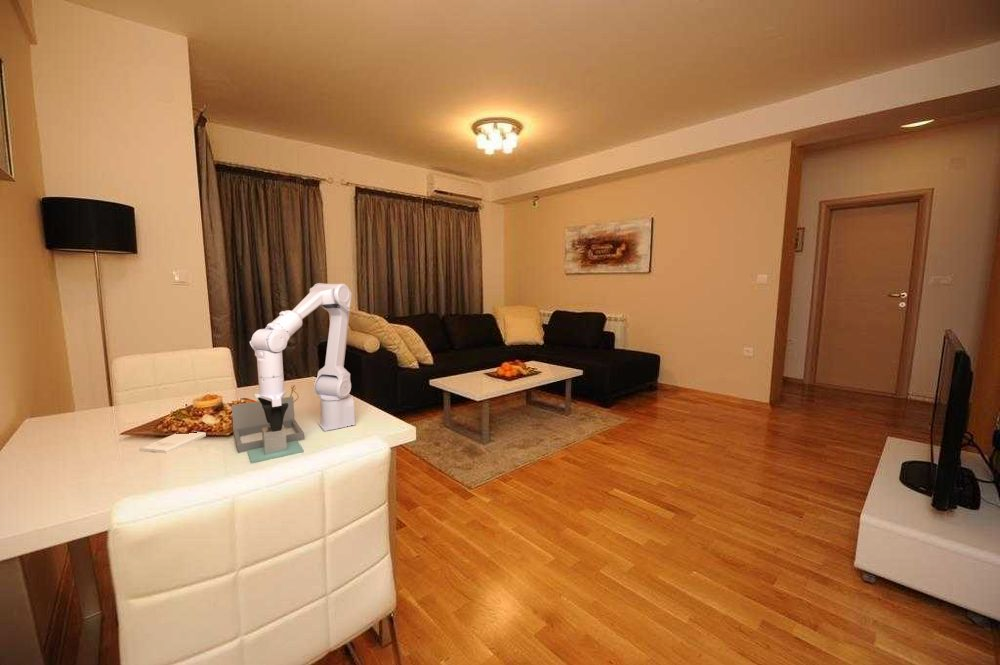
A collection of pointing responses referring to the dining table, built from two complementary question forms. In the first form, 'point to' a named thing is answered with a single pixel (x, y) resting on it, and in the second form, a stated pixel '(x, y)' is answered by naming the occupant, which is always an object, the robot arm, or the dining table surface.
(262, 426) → the equipment case
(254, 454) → the module mat
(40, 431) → the dining table surface
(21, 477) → the dining table surface
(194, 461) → the dining table surface
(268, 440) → the block
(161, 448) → the external hard drive
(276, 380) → the robot arm
